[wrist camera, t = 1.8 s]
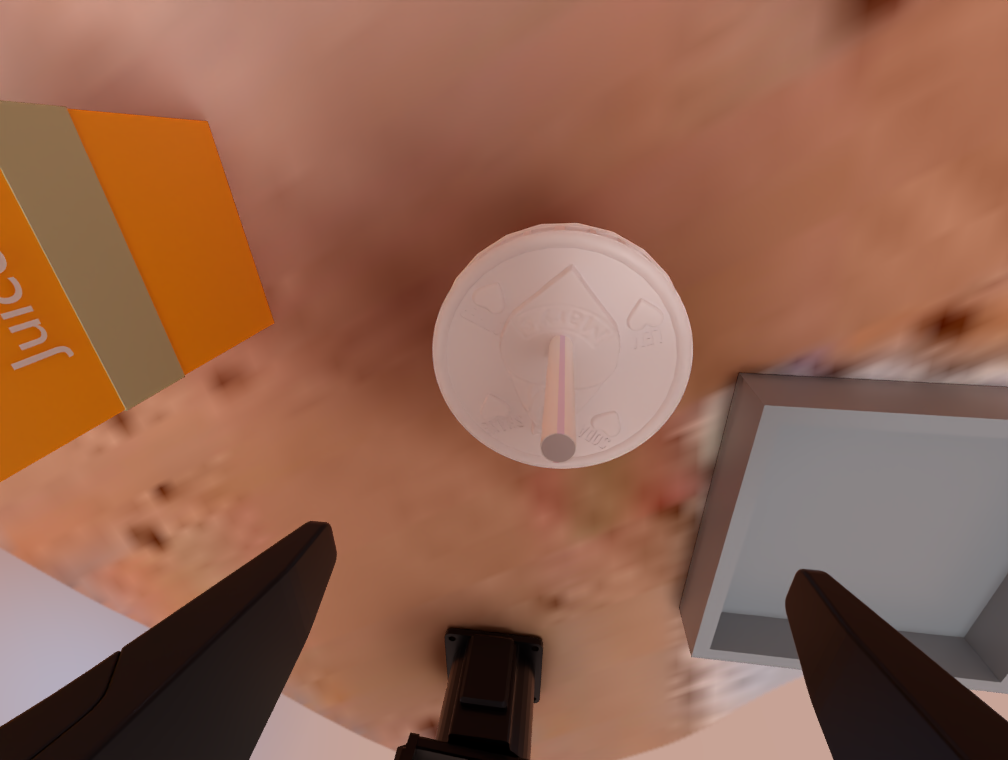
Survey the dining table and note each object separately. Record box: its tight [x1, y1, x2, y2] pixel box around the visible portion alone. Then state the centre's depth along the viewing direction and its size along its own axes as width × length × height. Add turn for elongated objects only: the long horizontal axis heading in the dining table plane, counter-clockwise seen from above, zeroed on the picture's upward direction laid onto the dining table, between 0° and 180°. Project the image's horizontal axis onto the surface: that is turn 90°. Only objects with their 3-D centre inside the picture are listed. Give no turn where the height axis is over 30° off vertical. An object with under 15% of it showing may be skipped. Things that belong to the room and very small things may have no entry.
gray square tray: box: [679, 373, 1008, 694], centre depth 22 cm, size 16×16×3 cm
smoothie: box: [432, 223, 693, 469], centre depth 14 cm, size 6×6×14 cm
